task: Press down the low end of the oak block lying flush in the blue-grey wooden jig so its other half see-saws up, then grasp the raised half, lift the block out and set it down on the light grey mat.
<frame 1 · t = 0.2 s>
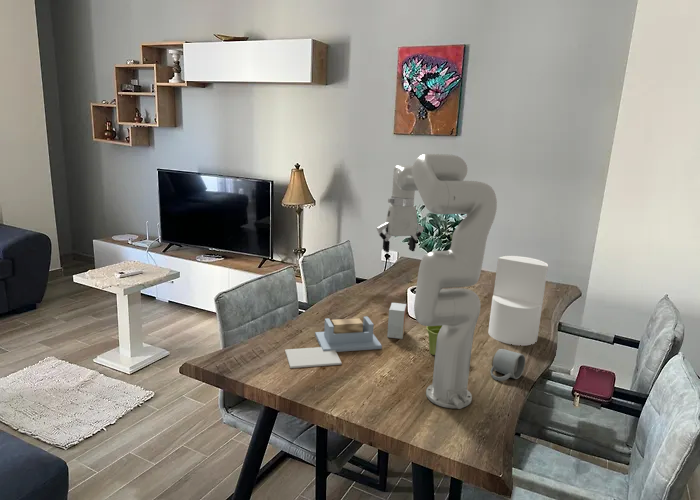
hand: (399, 251, 178), 31 cm above the table, tool pointing down, fingers open, 9 cm apart
mat: (312, 357, 163), on the table
cylinder: (512, 336, 189), on the table
oak block: (346, 331, 175), point 4 cm above the table, touching jig
small box: (395, 334, 185), on the table
plant pot: (438, 353, 171), on the table
jig: (347, 341, 176), on the table
ceramic mug: (505, 376, 158), on the table
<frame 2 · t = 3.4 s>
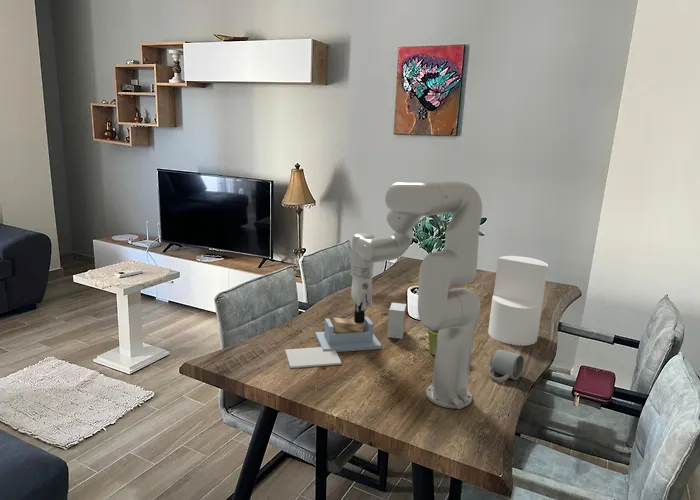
hand: (359, 321, 175), 7 cm above the table, tool pointing down, fingers closed
oak block: (346, 330, 175), point 4 cm above the table, tilted 9°, touching gripper, jig
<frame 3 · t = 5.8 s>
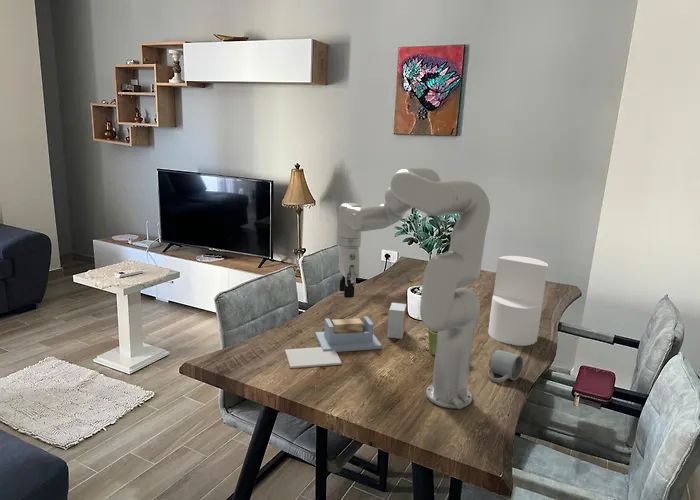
hand: (346, 293, 172), 18 cm above the table, tool pointing down, fingers open, 5 cm apart
oak block: (346, 331, 175), point 4 cm above the table, touching jig
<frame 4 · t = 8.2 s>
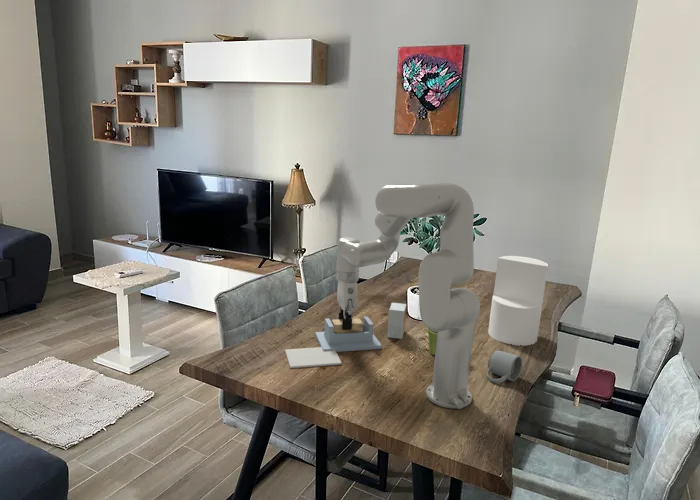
hand: (345, 325, 174), 6 cm above the table, tool pointing down, fingers closed on oak block, 4 cm apart
oak block: (346, 331, 175), point 4 cm above the table, touching gripper, jig
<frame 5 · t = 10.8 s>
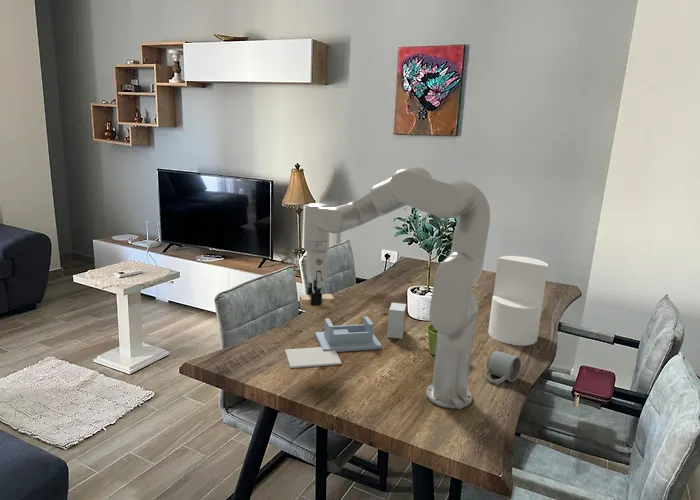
hand: (314, 301, 159), 19 cm above the table, tool pointing down, fingers closed on oak block, 4 cm apart
oak block: (316, 307, 159), point 17 cm above the table, touching gripper
when the fingers open (7 cm above the table, at t = 13.3 s): oak block drops 4 cm, resting on mat.
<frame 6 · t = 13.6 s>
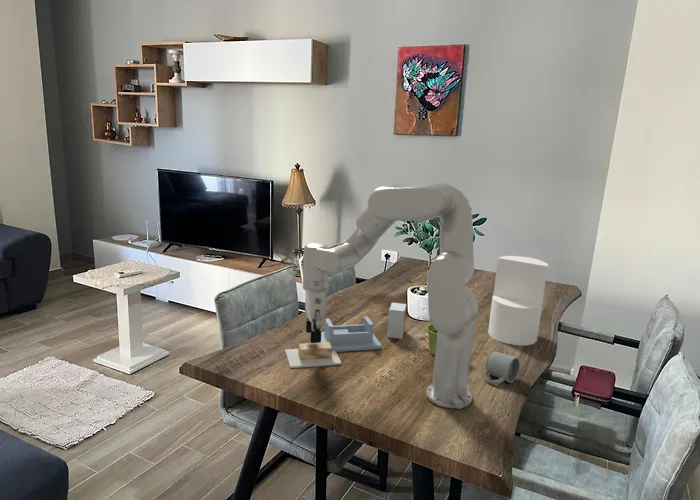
hand: (313, 336, 161), 7 cm above the table, tool pointing down, fingers open, 7 cm apart
oak block: (314, 355, 163), point 1 cm above the table, touching mat
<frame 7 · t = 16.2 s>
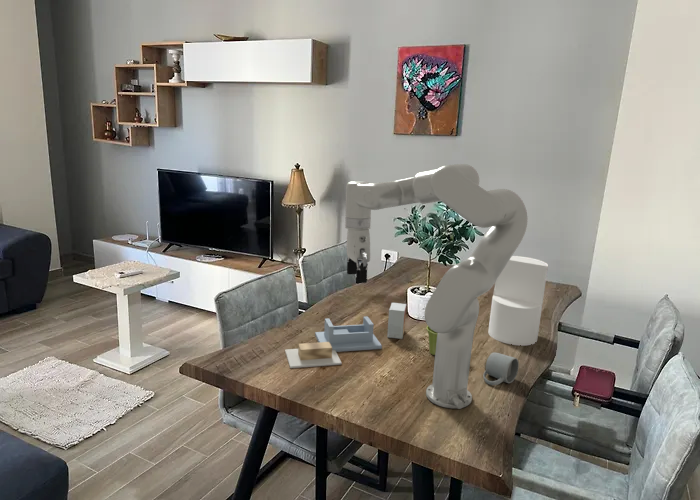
hand: (356, 278, 157), 27 cm above the table, tool pointing down, fingers open, 9 cm apart
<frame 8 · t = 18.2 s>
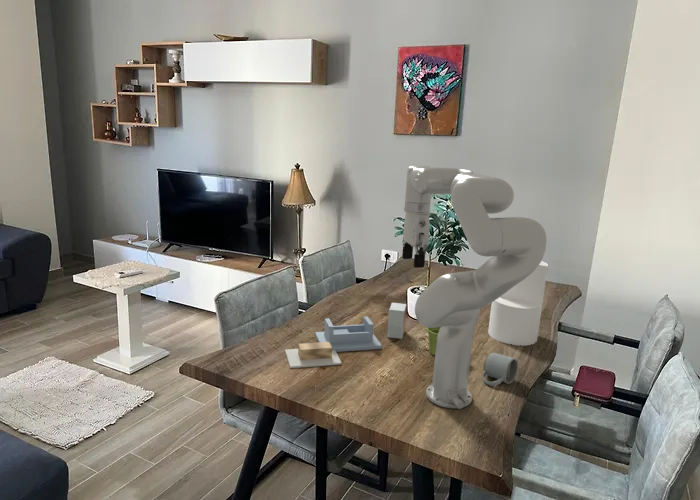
hand: (412, 262, 157), 32 cm above the table, tool pointing down, fingers open, 9 cm apart
at the end: oak block inside the target area on the mat (0.7 cm from its centre), point 0.6 cm above the mat's base; oak block touching mat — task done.
